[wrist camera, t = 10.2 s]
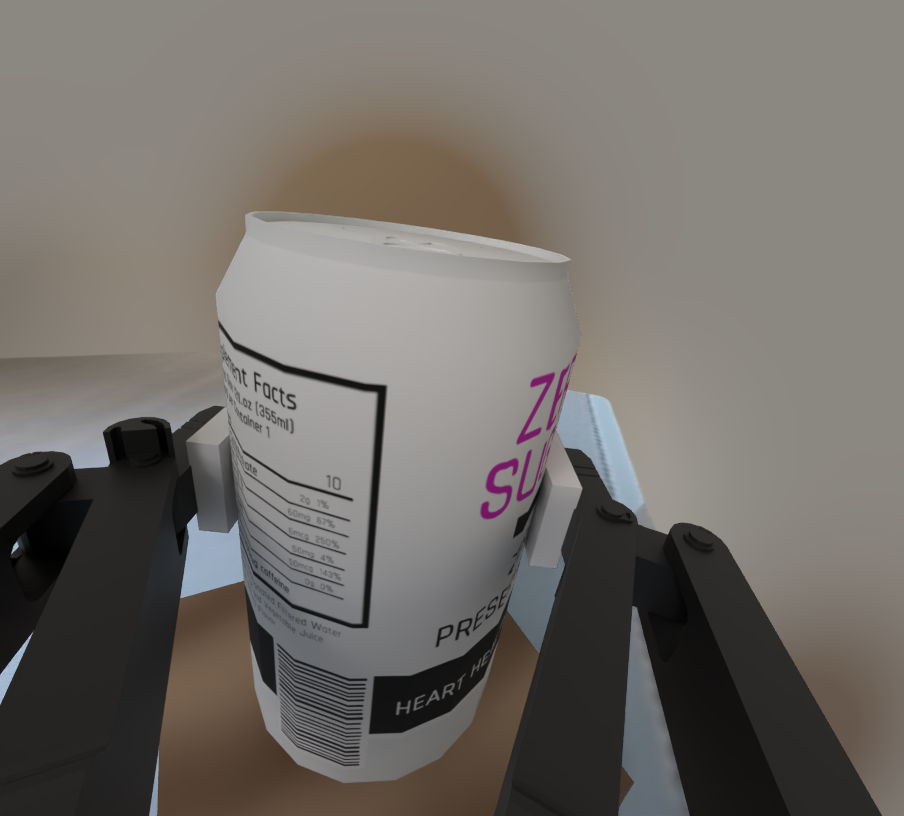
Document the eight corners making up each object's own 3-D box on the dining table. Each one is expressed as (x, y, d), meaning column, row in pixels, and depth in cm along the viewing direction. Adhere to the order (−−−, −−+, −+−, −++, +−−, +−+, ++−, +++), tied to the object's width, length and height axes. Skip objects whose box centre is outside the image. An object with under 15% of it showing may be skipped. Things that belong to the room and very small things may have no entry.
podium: (175, 662, 20) (163, 603, 18) (435, 573, 27) (443, 525, 25) (176, 1211, 10) (146, 1191, 8) (600, 835, 17) (633, 782, 15)
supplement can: (288, 573, 19) (274, 204, 13) (469, 576, 20) (538, 242, 14) (216, 803, 12) (101, 212, 5) (505, 787, 13) (686, 290, 7)
